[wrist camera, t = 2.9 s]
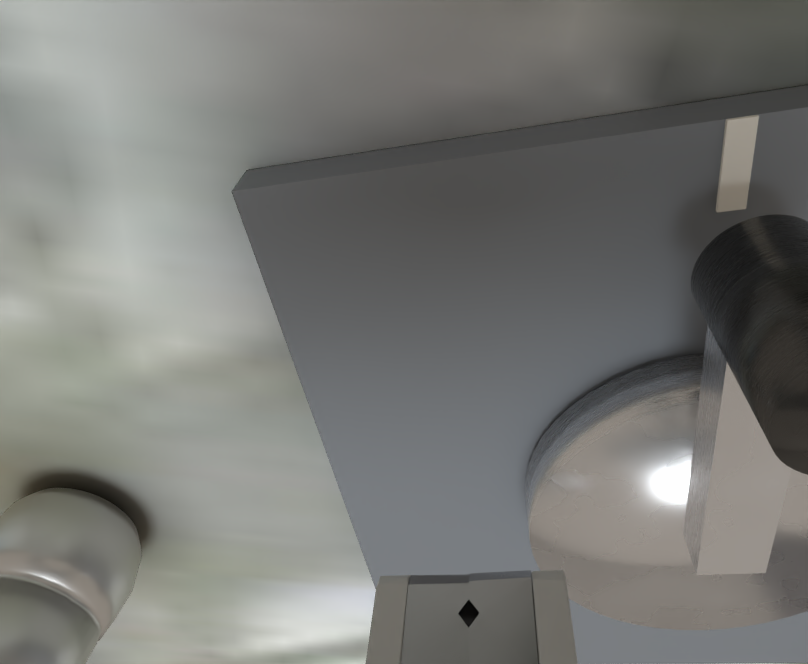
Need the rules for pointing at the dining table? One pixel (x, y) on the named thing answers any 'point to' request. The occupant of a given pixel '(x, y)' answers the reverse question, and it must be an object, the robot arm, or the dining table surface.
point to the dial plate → (509, 317)
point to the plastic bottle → (62, 575)
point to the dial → (693, 457)
